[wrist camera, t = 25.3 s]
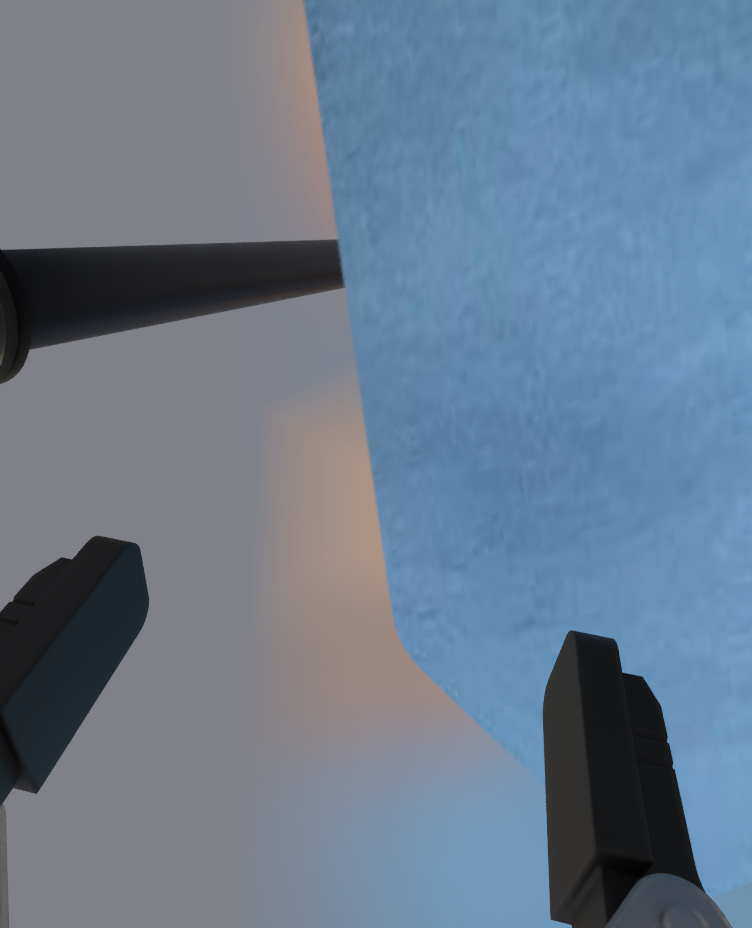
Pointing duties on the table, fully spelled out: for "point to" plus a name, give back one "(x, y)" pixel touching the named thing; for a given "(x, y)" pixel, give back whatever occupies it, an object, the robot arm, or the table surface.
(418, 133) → the table surface
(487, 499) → the table surface
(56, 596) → the robot arm
